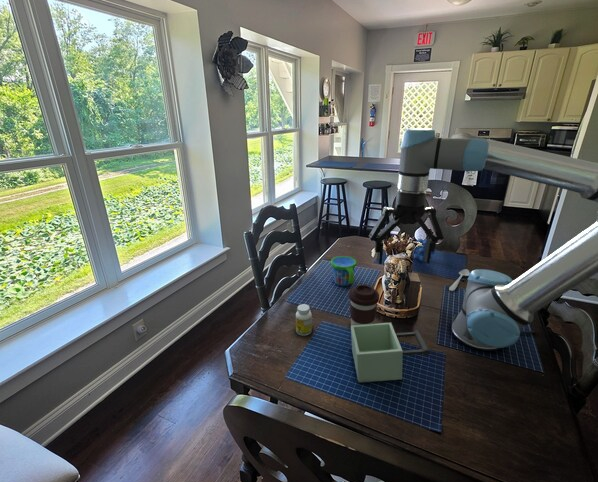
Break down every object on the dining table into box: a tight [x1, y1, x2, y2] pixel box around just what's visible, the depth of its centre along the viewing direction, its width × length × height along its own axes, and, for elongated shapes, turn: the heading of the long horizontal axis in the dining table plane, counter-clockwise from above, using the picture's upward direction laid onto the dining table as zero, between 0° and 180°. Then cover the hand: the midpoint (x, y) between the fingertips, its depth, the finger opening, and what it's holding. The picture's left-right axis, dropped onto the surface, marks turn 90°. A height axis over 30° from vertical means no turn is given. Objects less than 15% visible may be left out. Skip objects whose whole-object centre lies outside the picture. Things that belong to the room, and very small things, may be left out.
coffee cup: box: [348, 284, 380, 327], centre depth 108 cm, size 10×10×15 cm
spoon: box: [448, 268, 471, 292], centre depth 138 cm, size 4×21×2 cm, turn 138°
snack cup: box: [330, 255, 357, 287], centre depth 137 cm, size 16×10×10 cm
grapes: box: [413, 238, 436, 262], centre depth 154 cm, size 12×7×12 cm, turn 46°
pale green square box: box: [350, 322, 431, 383], centre depth 92 cm, size 20×12×10 cm, turn 89°
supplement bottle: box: [295, 303, 313, 337], centre depth 107 cm, size 5×5×10 cm
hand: (402, 261), depth 93 cm, fingers open, 13 cm apart
